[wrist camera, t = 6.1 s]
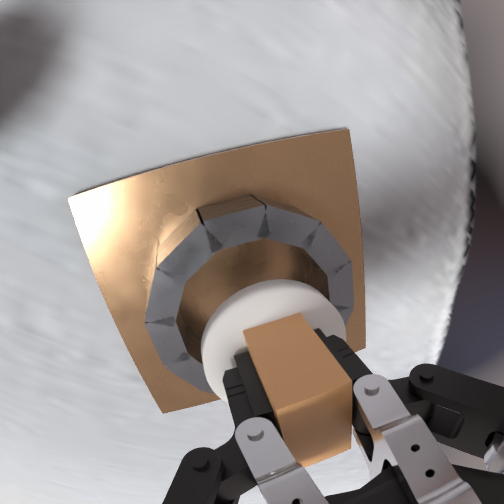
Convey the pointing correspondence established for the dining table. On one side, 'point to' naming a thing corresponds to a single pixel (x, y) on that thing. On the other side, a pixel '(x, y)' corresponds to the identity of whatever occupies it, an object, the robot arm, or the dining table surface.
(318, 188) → the board with grey ring
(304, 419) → the cap
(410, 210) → the dining table surface
